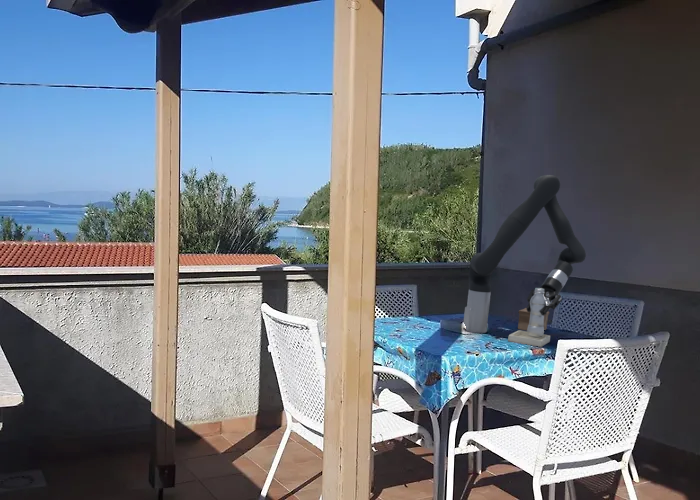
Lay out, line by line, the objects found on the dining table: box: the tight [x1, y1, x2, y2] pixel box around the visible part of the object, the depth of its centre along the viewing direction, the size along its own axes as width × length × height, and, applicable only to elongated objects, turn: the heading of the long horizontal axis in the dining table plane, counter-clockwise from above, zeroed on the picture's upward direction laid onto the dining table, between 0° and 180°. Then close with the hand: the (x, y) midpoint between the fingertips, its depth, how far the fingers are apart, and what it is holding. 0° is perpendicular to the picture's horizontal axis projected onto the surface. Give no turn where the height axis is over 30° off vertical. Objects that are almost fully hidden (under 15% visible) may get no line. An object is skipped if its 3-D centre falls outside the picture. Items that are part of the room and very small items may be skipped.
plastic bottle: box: [526, 287, 546, 338], centre depth 273 cm, size 6×7×20 cm
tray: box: [507, 329, 551, 348], centre depth 274 cm, size 16×13×2 cm
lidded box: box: [517, 307, 550, 331], centre depth 304 cm, size 13×11×9 cm
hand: (535, 312), depth 272 cm, fingers closed on plastic bottle, 6 cm apart
